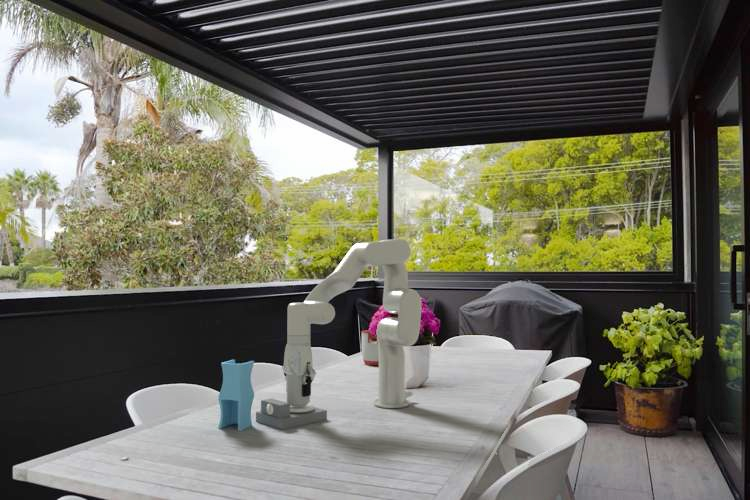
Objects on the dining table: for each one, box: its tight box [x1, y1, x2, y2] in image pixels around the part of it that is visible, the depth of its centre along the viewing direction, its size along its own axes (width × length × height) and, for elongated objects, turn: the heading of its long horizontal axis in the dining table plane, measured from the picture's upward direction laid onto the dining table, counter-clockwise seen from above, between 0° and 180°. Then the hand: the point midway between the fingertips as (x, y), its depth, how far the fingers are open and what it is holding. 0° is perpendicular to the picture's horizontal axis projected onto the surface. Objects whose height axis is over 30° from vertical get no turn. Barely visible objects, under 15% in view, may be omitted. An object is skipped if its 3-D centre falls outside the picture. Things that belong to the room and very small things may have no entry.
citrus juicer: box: [360, 329, 379, 366], centre depth 313 cm, size 16×17×20 cm
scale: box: [255, 398, 328, 430], centre depth 197 cm, size 18×14×7 cm
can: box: [286, 369, 311, 406], centre depth 199 cm, size 8×8×12 cm
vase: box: [217, 359, 255, 432], centre depth 189 cm, size 8×8×20 cm
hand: (298, 393), depth 199 cm, fingers closed on can, 7 cm apart
